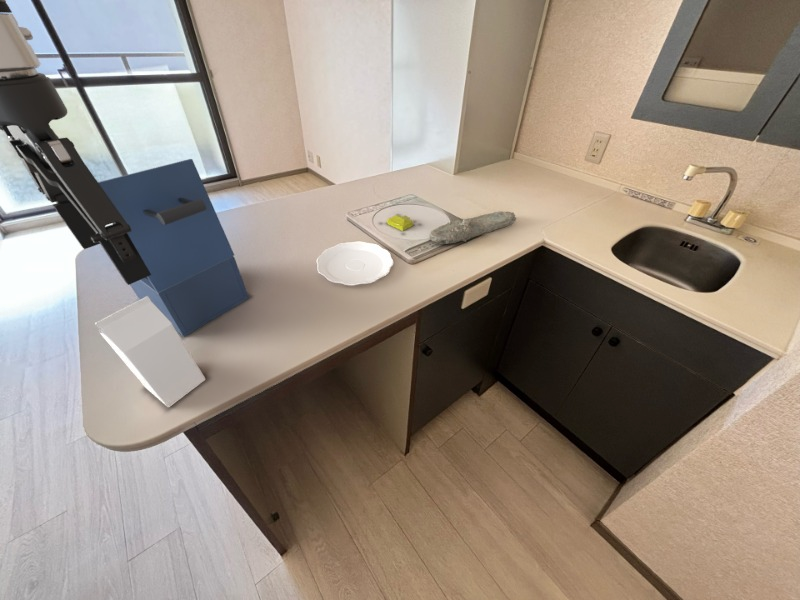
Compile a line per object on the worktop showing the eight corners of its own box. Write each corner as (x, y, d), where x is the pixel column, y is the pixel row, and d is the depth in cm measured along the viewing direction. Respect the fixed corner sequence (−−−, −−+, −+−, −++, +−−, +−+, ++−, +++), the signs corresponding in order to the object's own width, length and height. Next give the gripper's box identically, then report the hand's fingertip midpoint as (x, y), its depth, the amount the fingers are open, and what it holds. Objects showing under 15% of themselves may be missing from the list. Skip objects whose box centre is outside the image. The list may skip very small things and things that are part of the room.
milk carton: (206, 379, 61) (160, 304, 49) (168, 408, 56) (107, 333, 44) (184, 363, 64) (135, 288, 51) (146, 389, 59) (83, 313, 47)
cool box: (140, 301, 77) (113, 259, 69) (205, 270, 87) (187, 230, 79) (184, 337, 69) (158, 293, 61) (249, 298, 79) (234, 256, 71)
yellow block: (380, 223, 110) (380, 216, 108) (398, 215, 115) (399, 207, 113) (403, 234, 105) (403, 226, 103) (420, 224, 110) (421, 217, 108)
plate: (360, 238, 102) (360, 234, 101) (408, 267, 91) (408, 262, 90) (302, 264, 90) (301, 259, 89) (348, 300, 79) (348, 295, 78)
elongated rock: (521, 229, 112) (500, 218, 119) (525, 214, 109) (503, 204, 116) (441, 250, 97) (422, 237, 103) (443, 234, 94) (423, 221, 100)
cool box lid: (87, 184, 49) (107, 191, 45) (190, 158, 59) (215, 161, 55) (156, 291, 61) (177, 304, 56) (232, 254, 71) (256, 263, 67)
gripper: (95, 84, 28) (191, 281, 42) (6, 59, 38) (107, 223, 52) (-29, 94, 23) (126, 312, 37) (-91, 63, 34) (48, 242, 47)
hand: (115, 260), depth 45 cm, fingers open, 13 cm apart
